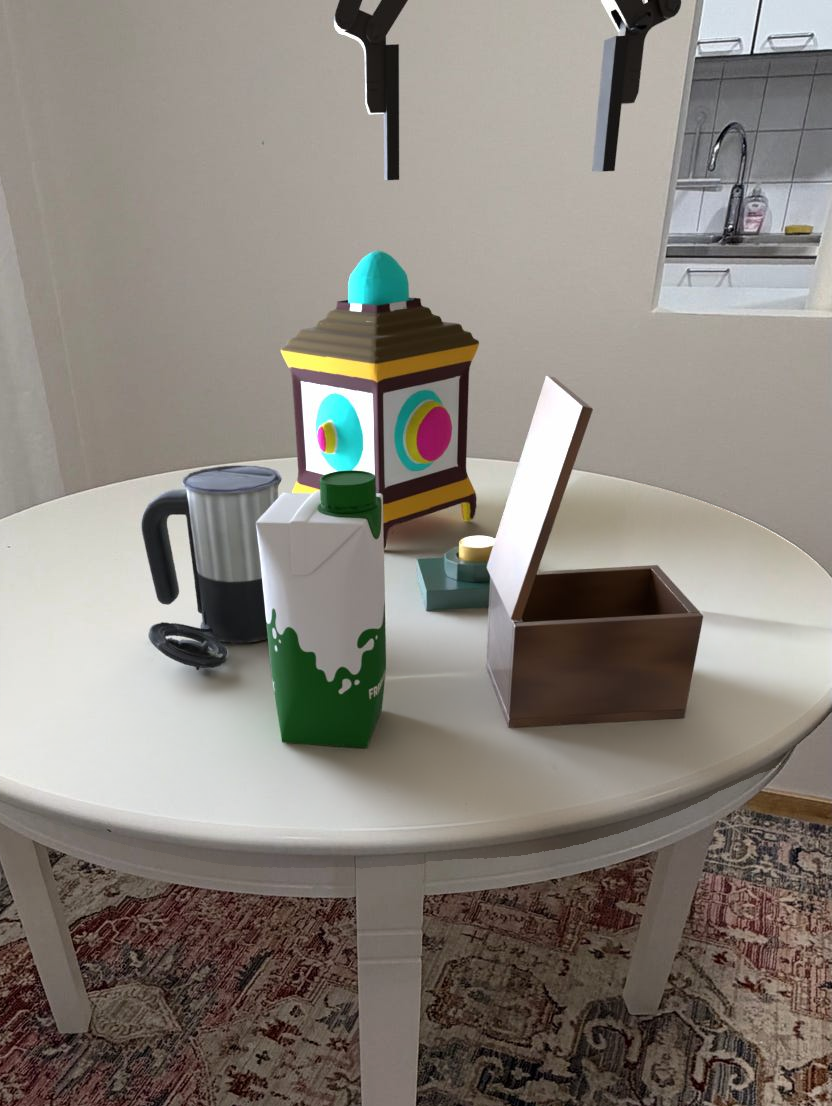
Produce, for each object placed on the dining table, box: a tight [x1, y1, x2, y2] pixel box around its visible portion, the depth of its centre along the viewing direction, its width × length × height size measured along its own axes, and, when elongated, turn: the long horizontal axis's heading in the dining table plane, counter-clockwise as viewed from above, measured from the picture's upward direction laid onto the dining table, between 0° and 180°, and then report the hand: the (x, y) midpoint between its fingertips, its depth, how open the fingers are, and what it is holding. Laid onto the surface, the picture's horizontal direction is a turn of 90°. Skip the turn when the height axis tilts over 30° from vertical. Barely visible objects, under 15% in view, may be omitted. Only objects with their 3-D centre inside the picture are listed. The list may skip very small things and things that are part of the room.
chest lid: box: [487, 375, 594, 621], centre depth 73 cm, size 15×12×1 cm
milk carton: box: [256, 470, 387, 749], centre depth 74 cm, size 9×9×20 cm
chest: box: [485, 564, 704, 729], centre depth 80 cm, size 15×12×9 cm
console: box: [416, 545, 490, 612], centre depth 102 cm, size 12×10×4 cm
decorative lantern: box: [280, 250, 480, 551], centre depth 115 cm, size 20×20×30 cm
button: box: [458, 535, 496, 562], centre depth 100 cm, size 4×4×2 cm
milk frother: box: [140, 464, 283, 671], centre depth 90 cm, size 14×16×15 cm
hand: (497, 176), depth 61 cm, fingers open, 13 cm apart
